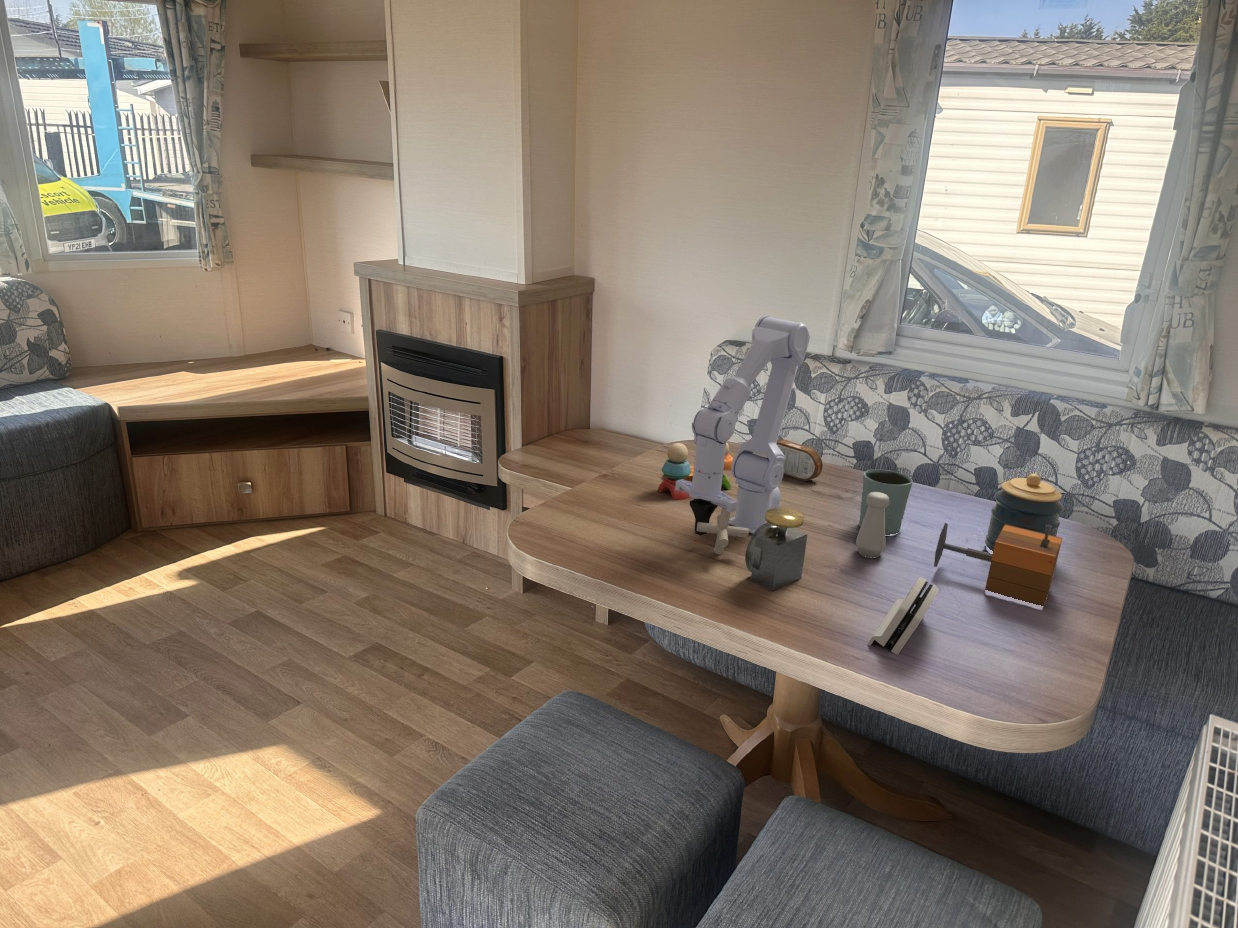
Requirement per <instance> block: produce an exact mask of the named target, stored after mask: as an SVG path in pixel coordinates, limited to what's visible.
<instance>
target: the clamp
mask: <svg viewBox="0 0 1238 928" xmlns="http://www.w3.org/2000/svg"><path fill="white" fill-rule="evenodd" d="M948 527H949V524H948V523H947V522H944V525H943V527H942V529H941V531H940V534H939V537H938V541H937V545H936V550H935V553H934V562H933V567H935V568H937V567H938V565H939V563H940V560H941V559H942V558H941V557H942V555H943V552H944V550H947V551H948V550H949V551H951V552H955V553H959V554H963V555H965V556H966V557H969V558H973V559H978V560H981V561H985V562H989V563H990V565H989V569H988V574H987V580H986V583H985V586H984V591H985V590H988V591H991V592H994V593H998V594H1001V595H1004V596H1007V597H1012V598H1014V599H1018V600H1022V601H1025V602H1029V603H1033V604H1036V605H1041V606H1044V607H1045V605H1046V602H1047V599H1048V596H1049V594H1048V593H1050V591H1051V588H1052V583H1053V579H1054V575H1055V570H1056V567H1057V564H1058V563H1057V562H1058V557H1059V555H1060V550H1061V547H1062V542H1063V537H1061V536H1057V535H1056V536H1052V535H1049V532H1050V531H1051V528H1052V526H1050V525H1046V528H1045V531H1046V533H1045V534H1044V533H1040V532H1036V531H1032V530H1027V529H1023V528H1019V527H1015V526H1011V525H1007V524H1005V526H1004V527H1003V529H1002V531H1001V533H1000V534H999V536H998V538H997V540H996V542H995V546H994V550H993V554H990V553H988V552H985V551H982V550H977V549H974V548H970V547H967V548H965V547H962V546H957V545H954V544H949V543H946V541H947V535H948ZM1049 590H1050V591H1049ZM1047 595H1048V596H1047ZM1046 598H1047V599H1046ZM1045 601H1046V602H1045ZM1044 604H1045V605H1044Z"/></svg>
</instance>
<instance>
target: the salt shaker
mask: <svg viewBox="0 0 1238 928" xmlns="http://www.w3.org/2000/svg"><path fill="white" fill-rule="evenodd" d="M866 501H867V504H868V508H867V511H866V514H865V517H864V519H863V522H862V525H861V528H860V527H859V531H858V533H857V537H856V540H855V541H856V542H855V543H856V547H857V551H859V552H858V554H859V555H860V554H861V555H863V556H862V557H864V556H866V557H865V558H867V557H869V558H868V559H874V558H873V557H878V558H879V556H880V555H881V554H882V552H883V551H884V550H885V549H886V544H887V542H886V537H885V508H886V507H887V506H888V505H889V497H888V496H887V495H886V494H884V493H880V492H871V493H869V494H868V495H867V500H866ZM861 555H860V556H861ZM870 557H872V558H870Z"/></svg>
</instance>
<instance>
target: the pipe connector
mask: <svg viewBox="0 0 1238 928" xmlns="http://www.w3.org/2000/svg"><path fill="white" fill-rule="evenodd" d="M731 513H732V512H728V511H726V509H725V508H722V507H721V511H720V514H718V515H717V516H716V520H717V524H716V523H710V522H709V523H702V522H698V524H697V531H699V532H707V534H708V533H709V534H715V535H716V539H715V545H714V550H713V553H714V554H716V555H722V554H724V550H725V548H726V547H728V545H729V536H732V537H739V538H748V537H749V535H750V534H749V528H741V527H735V526H733V525H730V524H729V519H731Z"/></svg>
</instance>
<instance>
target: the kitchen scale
mask: <svg viewBox="0 0 1238 928" xmlns="http://www.w3.org/2000/svg"><path fill="white" fill-rule="evenodd" d="M765 520H766V521H767V522H768V523H765V524H763V525H761V526H760V527H759V528H758V529H757V530H756V531H755V532H754V534H752V535H751V537H750V538H749V541H748V543H747V547H746V549H745V556H744V558H745V559H744V560H745V562H744V563H745V565H746V568H747V571H749V572H751V575H750V582H752V583H754V584H756V585H757V586H760V587H762V588H764V589H766V590H768V591H770V592H774V591H775V590H778V589H781V588H782V587H785V586H787V585H789V584H791V583H794V582H796V581H798V580H800V579H802V577H803V576H802V575H803V570H804V563H805V562H804V561H805V554H806V549H807V548H806V547H807V540H808V533H806V532H804V531H802V530H799V529H797V528H799V527H802V526H803V525H804V522H805V521H804V520H805V515H803V514H802V513H801V512H800V511H797V510H795V509H790V508H783V507H779V508H772V509H768V510H767V511H766V512H765Z"/></svg>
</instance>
